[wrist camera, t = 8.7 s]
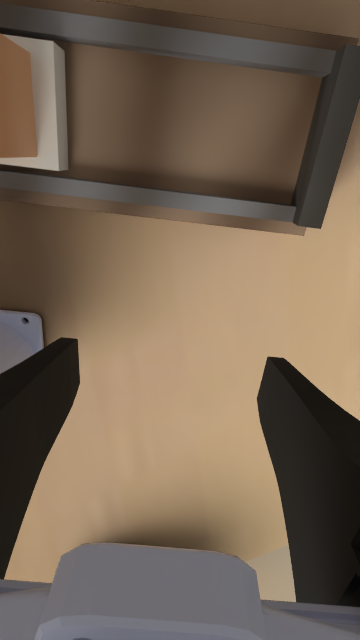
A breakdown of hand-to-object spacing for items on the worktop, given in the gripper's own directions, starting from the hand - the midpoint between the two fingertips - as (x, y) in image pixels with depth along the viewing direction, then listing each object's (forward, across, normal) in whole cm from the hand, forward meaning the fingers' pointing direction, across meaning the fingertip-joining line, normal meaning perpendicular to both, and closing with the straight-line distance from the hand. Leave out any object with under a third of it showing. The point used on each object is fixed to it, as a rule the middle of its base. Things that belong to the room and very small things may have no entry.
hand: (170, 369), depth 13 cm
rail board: (+10, +3, -8) cm, 14 cm away
